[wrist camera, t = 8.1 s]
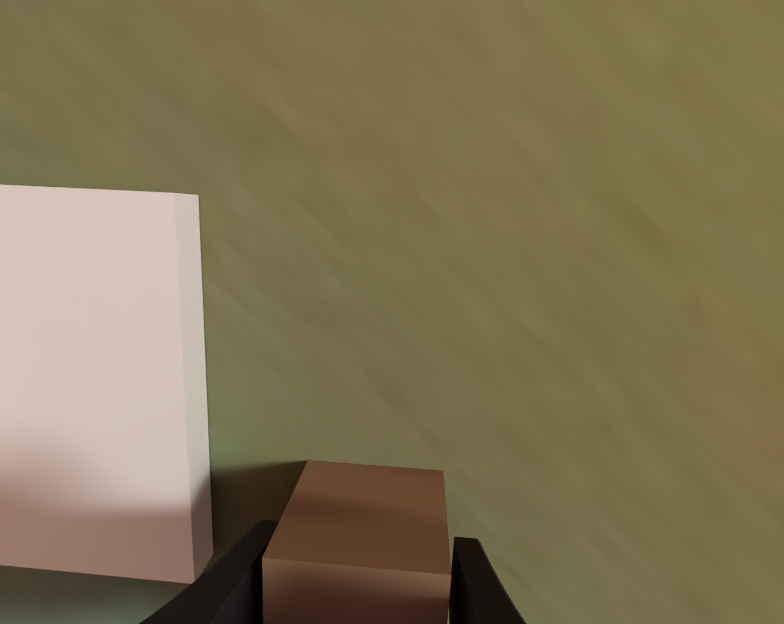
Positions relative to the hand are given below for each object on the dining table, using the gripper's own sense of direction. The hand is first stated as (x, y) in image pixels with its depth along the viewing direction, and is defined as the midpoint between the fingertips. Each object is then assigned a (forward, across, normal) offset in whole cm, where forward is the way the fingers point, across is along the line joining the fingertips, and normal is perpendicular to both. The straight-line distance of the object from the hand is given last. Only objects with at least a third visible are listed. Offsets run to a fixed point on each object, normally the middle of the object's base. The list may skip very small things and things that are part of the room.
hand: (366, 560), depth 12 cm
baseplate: (+1, +12, -4) cm, 13 cm away
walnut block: (+2, 0, 0) cm, 2 cm away
